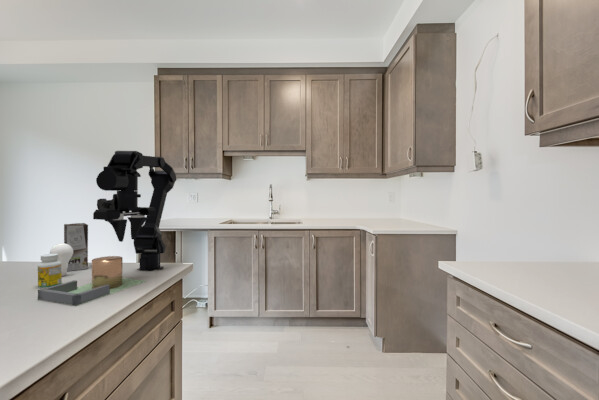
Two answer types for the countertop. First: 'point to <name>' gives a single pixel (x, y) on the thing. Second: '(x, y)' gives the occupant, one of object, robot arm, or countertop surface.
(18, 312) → the countertop surface
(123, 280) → the green
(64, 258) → the lightbulb
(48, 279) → the supplement bottle
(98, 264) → the copper metal cylinder
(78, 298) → the shallow gray tray
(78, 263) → the coffee box
